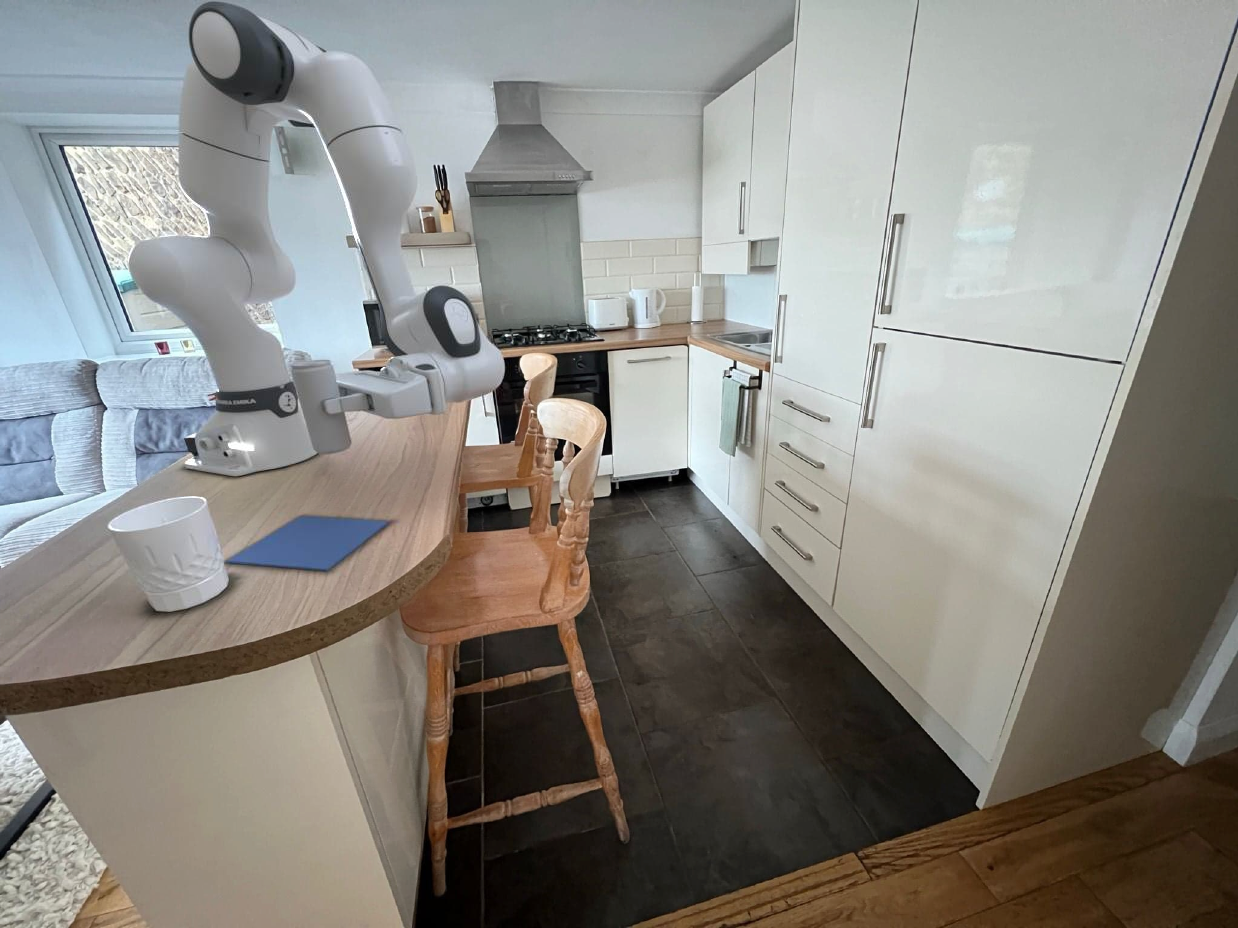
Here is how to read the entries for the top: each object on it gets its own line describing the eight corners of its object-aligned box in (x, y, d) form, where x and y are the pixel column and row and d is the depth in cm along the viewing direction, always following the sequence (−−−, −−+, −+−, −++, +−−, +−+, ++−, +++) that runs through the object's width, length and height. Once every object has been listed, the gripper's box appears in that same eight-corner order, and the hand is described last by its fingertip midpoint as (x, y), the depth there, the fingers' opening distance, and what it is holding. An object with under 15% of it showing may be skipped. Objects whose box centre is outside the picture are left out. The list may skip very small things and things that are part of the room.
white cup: (180, 575, 59) (148, 498, 56) (250, 570, 60) (223, 494, 56) (125, 619, 52) (84, 533, 48) (205, 613, 52) (171, 527, 49)
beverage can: (336, 455, 67) (312, 365, 63) (305, 454, 68) (280, 366, 64) (360, 444, 72) (340, 359, 67) (330, 443, 73) (309, 359, 68)
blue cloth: (226, 562, 62) (225, 560, 62) (301, 517, 73) (300, 515, 73) (327, 571, 59) (326, 569, 59) (388, 523, 70) (388, 521, 70)
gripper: (373, 357, 82) (278, 372, 72) (445, 370, 70) (343, 390, 60) (381, 396, 84) (290, 415, 74) (452, 414, 72) (355, 440, 62)
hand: (314, 404), depth 67 cm, fingers closed on beverage can, 5 cm apart
